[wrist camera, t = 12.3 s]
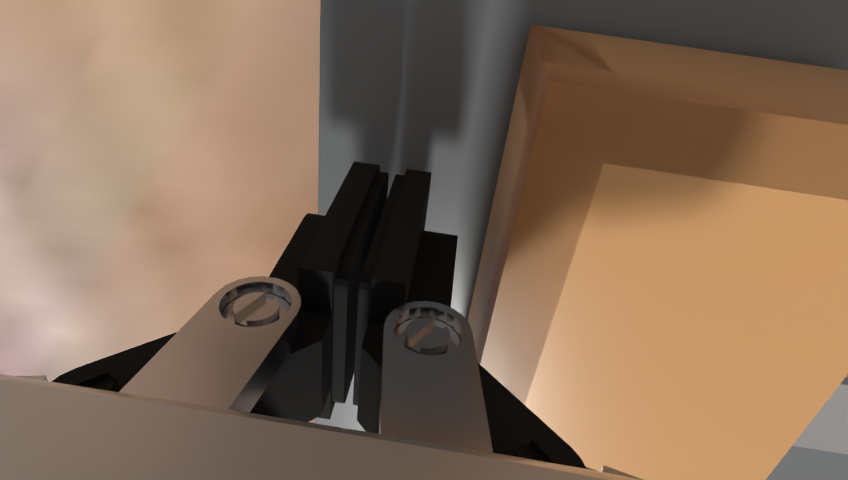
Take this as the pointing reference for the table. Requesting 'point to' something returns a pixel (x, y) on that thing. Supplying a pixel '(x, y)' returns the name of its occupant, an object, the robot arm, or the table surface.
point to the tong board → (511, 102)
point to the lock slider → (668, 253)
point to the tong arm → (829, 424)
